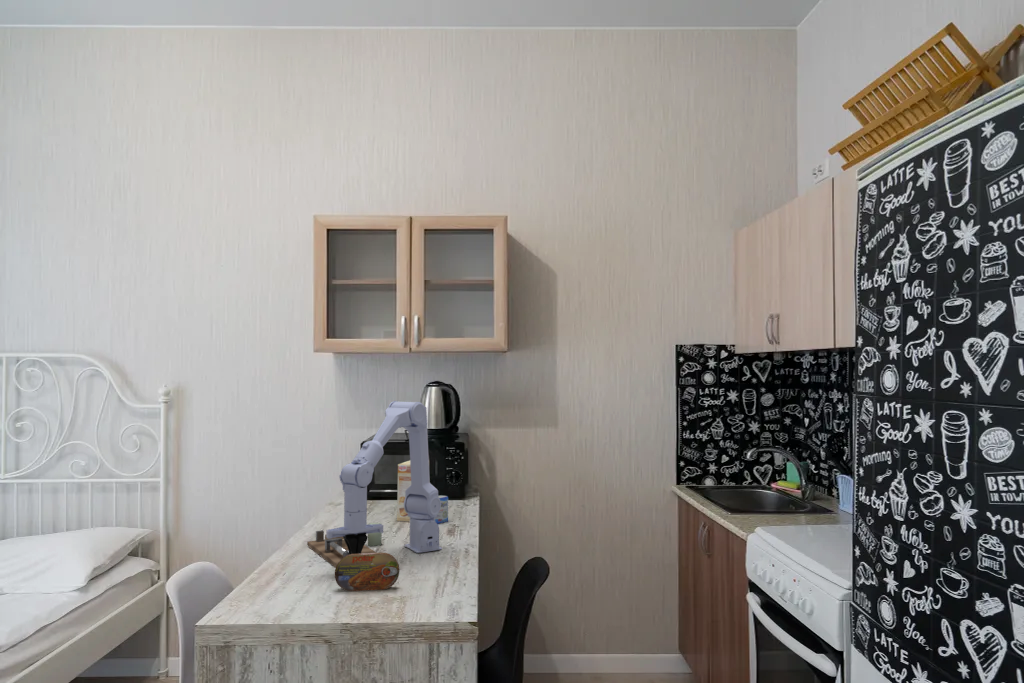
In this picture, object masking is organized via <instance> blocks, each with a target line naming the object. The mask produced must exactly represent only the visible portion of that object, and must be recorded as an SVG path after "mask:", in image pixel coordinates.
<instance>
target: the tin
mask: <svg viewBox="0 0 1024 683" xmlns="http://www.w3.org/2000/svg"><path fill="white" fill-rule="evenodd" d="M334 568H335V567H334ZM399 576H400V565H399V562H398V560H397V559H396V557H395V556H394V555H392V554H391V553H388V552H377V553H363V554H350V555H347V556H345V557H344V558H342V559H341V560H340V561H339V563H338V564H337V566H336V568H335V569H334V579H335V582H336V584H337V585H338V587H339V588H341V589H342V590H344V591H346V592H362V591H363V592H364V591H365V592H366V591H382V590H383V591H384V590H387V589H389V588H391V587H392V586H394V585H395V584H396V582H398V579H399Z"/></svg>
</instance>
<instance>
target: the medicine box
mask: <svg viewBox="0 0 1024 683" xmlns="http://www.w3.org/2000/svg"><path fill="white" fill-rule="evenodd" d="M438 496H439V499H440V502H441V508H440V511H439V513H438V514H437V517H434V518H435V522H436V523H437V524H438V525H439V524H440V525H441V524H444V523H448V522H449V496H448V495H442V494H441V495H438Z"/></svg>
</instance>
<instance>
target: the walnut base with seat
mask: <svg viewBox="0 0 1024 683" xmlns="http://www.w3.org/2000/svg"><path fill="white" fill-rule="evenodd" d="M335 538H342V548H343V549H345V550H348V547H347V545H346V543H345V540H344V538H343V537H334V538H331V539H335ZM327 539H328V538H327V537H326V534H324V541H322V542H316V540H309V541H306V542H307V543H306V544H307V545H308V546H309V547H308V546H307V545H306V546H307V547H308V548H310V549H311V550H312V551H314V552H315V553H316V555H319V556H320V557H321V558H323V559H324V560H325V561H327V562H328V563H329V564H330V565H332V566H333V567H334V568H336V566H337V564H338V563H339V561H340V560H341V559H342V558H343V556H342V555H341V554H340V553H338V552H337V551H335V550H334V549H333V548H331V547H330V553H326V552H325V540H327ZM335 543H336V544H337V542H335ZM363 553H378V552H377V551H375V550H374V549H372V548H370V547H368V545H366V544H365V545H364V547H363V549H362V552H361V554H363Z"/></svg>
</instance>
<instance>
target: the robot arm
mask: <svg viewBox="0 0 1024 683" xmlns="http://www.w3.org/2000/svg"><path fill="white" fill-rule="evenodd" d="M427 408H428V407H426V406H425V405H424V404H423V403H422V402H421V401H398V400H393V401H391V402H390V403H389V404H388V407H387V408H386V409H385V412H384V414H385V418H384V419H383V421H382V423H381V425H380V426H379V427H378V430H377V431H376V433H375V434H374V436H373V439H372V440H367V441H366V442H364V443H363V444H362V445H361V448H360V449H359V451H358V452H357V454H356V455H355V457H354V458H353V460H352V461H351V462H350V463H346V465H344V466H343V467H342V469H341V470H340V474H339V476H338V477H339V482H340V483H341V485H342V491H343V492H344V496H343V497H344V502H343V503H344V504H343V509H344V510H343V511H344V512H343V526H341V527H334V528H331V529H330V528H329V529H326V532H325V535H326V537H327V538H328V539H331V538H334V537H343V538H344V540H345V543H346V545H347V547H348V550H349V554H361V552H362V549H363V547H364V545H365V546H366V542H368V534H369V533H378V532H379V533H382V534H383V533H384V525H383V524H382V523H381V524H370V523H368V522H367V520H368V519H367V518H368V517H367V515H368V513H367V512H368V508H367V507H368V502H367V501H368V486H369V484H370V483H371V482H372V480H373V474H374V472H375V467H376V466H377V464H378V463H379V462H380V460H381V459H382V457H383V455H384V446H385V445H386V444H387V443H388V441H389V440H390V439H391V437H392V436H393V435H394V434H395V432H396V431H397V430H398V429H399V428H404V429H405V430H406V431H407V432H408V439H409V440H408V442H409V443H408V445H409V460H410V466H411V486H410V487H409V488H408V489H407V490H406V491H405V500H404V509H405V511H406V513H408V517H410V522H409V543H405V544H404V547H406V548H408V549H409V550H411V551H413V552H414V553H416V554H418V553H419V554H420V553H426V552H432V551H433V552H435V551H441V550H442V549H443V547H441V546H440V526H439V524H437V523H436V522H435V518H434V517H437V514H438V513H439V511H440V508H441V502H440V499H439V496H440V495H439V490H438V489H437V488H436V487H435V486H434V485H433V484H432V483H431V482H430V481H431V480H430V478H431V476H430V458H429V437H428V434H429V433H428V414H427V411H428V410H427ZM368 524H369V525H368Z"/></svg>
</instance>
